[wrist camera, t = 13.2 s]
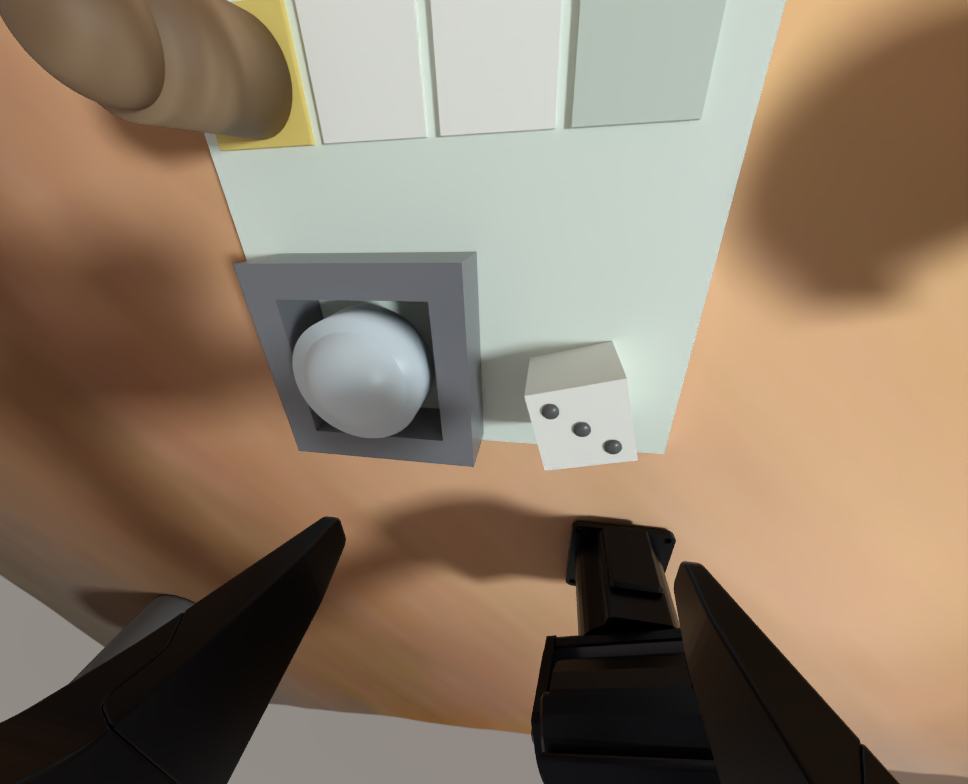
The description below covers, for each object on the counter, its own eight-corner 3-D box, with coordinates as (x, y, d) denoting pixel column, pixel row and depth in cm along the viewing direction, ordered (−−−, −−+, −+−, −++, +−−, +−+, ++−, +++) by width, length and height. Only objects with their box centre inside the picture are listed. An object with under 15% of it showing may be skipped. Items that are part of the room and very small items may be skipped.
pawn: (304, 138, 15) (129, 109, 9) (221, 141, 15) (7, 116, 9) (273, 0, 13) (19, -158, 7) (180, 11, 13) (-126, -123, 7)
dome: (448, 401, 20) (416, 463, 16) (350, 395, 21) (293, 452, 17) (438, 295, 17) (395, 333, 13) (326, 294, 18) (248, 328, 14)
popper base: (483, 433, 21) (473, 466, 18) (328, 421, 22) (299, 450, 20) (476, 251, 16) (461, 262, 13) (279, 253, 18) (232, 263, 15)
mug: (138, 591, 42) (3, 720, 32) (198, 595, 40) (74, 735, 30) (201, 653, 48) (104, 778, 38) (256, 660, 46) (169, 795, 36)
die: (622, 411, 19) (638, 461, 15) (546, 422, 20) (544, 472, 16) (612, 340, 17) (627, 379, 13) (529, 357, 18) (524, 397, 15)
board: (659, 443, 20) (665, 457, 19) (311, 417, 24) (299, 428, 23) (797, -95, 11) (825, -128, 10) (178, -1, 14) (146, -18, 13)
